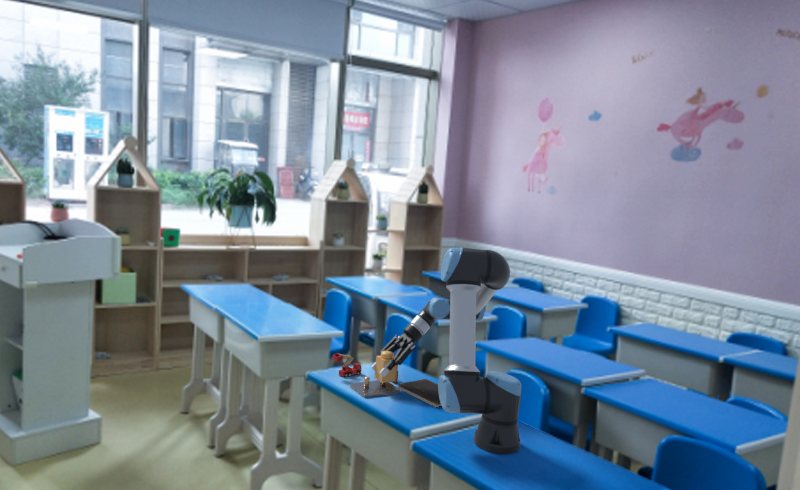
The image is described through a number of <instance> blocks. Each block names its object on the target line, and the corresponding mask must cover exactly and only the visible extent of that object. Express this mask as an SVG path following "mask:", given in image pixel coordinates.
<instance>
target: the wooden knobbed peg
mask: <svg viewBox="0 0 800 490" xmlns="http://www.w3.org/2000/svg"><path fill="white" fill-rule="evenodd" d="M393 355H394V353H393V352H390V351H382V352H380V355H376V357H375V362H376V365H375V371H374V379H376V381H377V380H378V381H380V382H381V383H384V382H390V383H392V382H393V381H395V375H396V365H395V366H394V367H393V369H392V370H390V371H389V372H388V373H387V375H386V376H385V377H383V376H382V375H381V374H380V373H379V372H380V371H381V370H382V369H383V368H384V367H385V366H386V364H387V363H388V362H389V361H390V360H391V359H393V358H394V357H393ZM391 361H392V360H391ZM392 362H393V361H392Z"/></svg>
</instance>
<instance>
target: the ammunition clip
mask: <svg viewBox="0 0 800 490" xmlns="http://www.w3.org/2000/svg"><path fill="white" fill-rule="evenodd" d="M395 355H396V353H395V352H394V353H393V357H395ZM398 368H399V365H396V375H395V381H393V382H391V384H398V379H399V369H398Z"/></svg>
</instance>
